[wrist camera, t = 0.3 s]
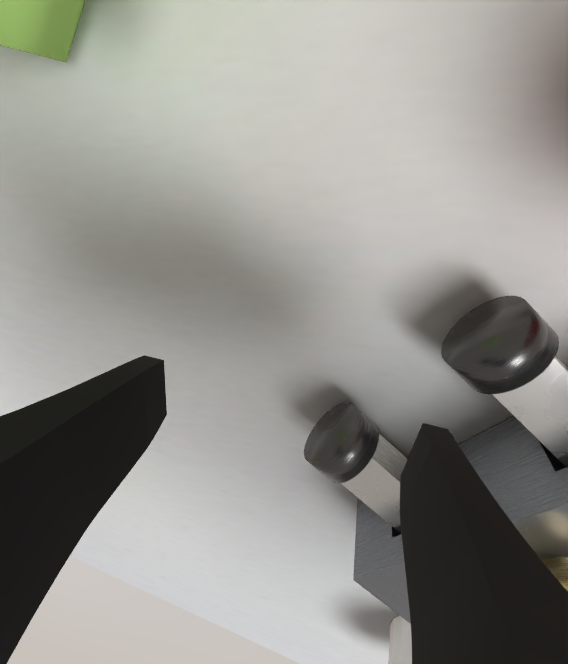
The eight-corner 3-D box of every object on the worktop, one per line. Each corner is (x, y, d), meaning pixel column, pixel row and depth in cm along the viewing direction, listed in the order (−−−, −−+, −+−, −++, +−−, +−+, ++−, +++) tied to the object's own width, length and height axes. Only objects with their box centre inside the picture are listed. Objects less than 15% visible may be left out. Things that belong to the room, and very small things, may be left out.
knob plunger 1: (492, 513, 22) (513, 579, 18) (439, 533, 24) (450, 597, 20) (356, 391, 20) (352, 440, 17) (310, 423, 22) (298, 473, 18)
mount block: (751, 451, 17) (894, 570, 12) (435, 559, 26) (448, 653, 21) (656, 343, 16) (776, 429, 11) (357, 495, 25) (353, 579, 20)
